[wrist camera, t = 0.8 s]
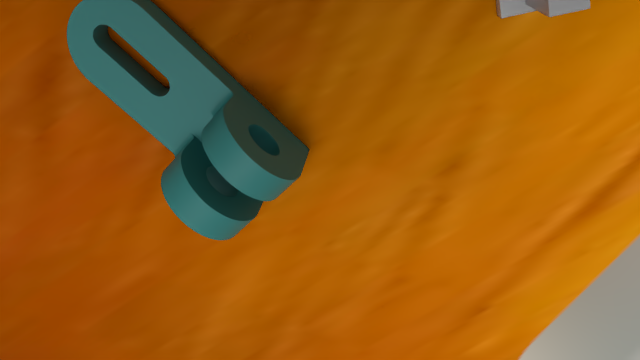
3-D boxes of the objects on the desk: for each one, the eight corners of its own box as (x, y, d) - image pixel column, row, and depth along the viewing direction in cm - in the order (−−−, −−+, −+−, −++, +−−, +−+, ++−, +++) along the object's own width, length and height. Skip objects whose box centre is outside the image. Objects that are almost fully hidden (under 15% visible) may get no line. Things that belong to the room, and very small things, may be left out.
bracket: (309, 148, 39) (293, 196, 32) (252, 201, 41) (225, 257, 34) (117, -33, 35) (50, -23, 28) (66, 39, 37) (-7, 65, 30)
